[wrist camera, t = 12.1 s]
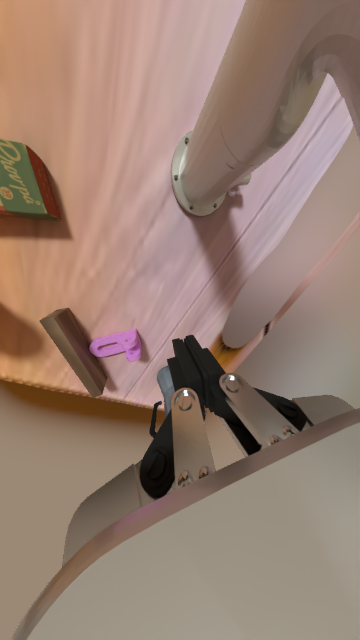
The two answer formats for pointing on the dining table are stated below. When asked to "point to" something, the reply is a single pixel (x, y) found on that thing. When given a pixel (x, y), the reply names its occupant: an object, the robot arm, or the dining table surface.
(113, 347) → the bracket
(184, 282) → the dining table surface
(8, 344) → the dining table surface
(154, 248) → the dining table surface
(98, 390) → the walnut board
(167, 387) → the moka pot
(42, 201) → the carton
